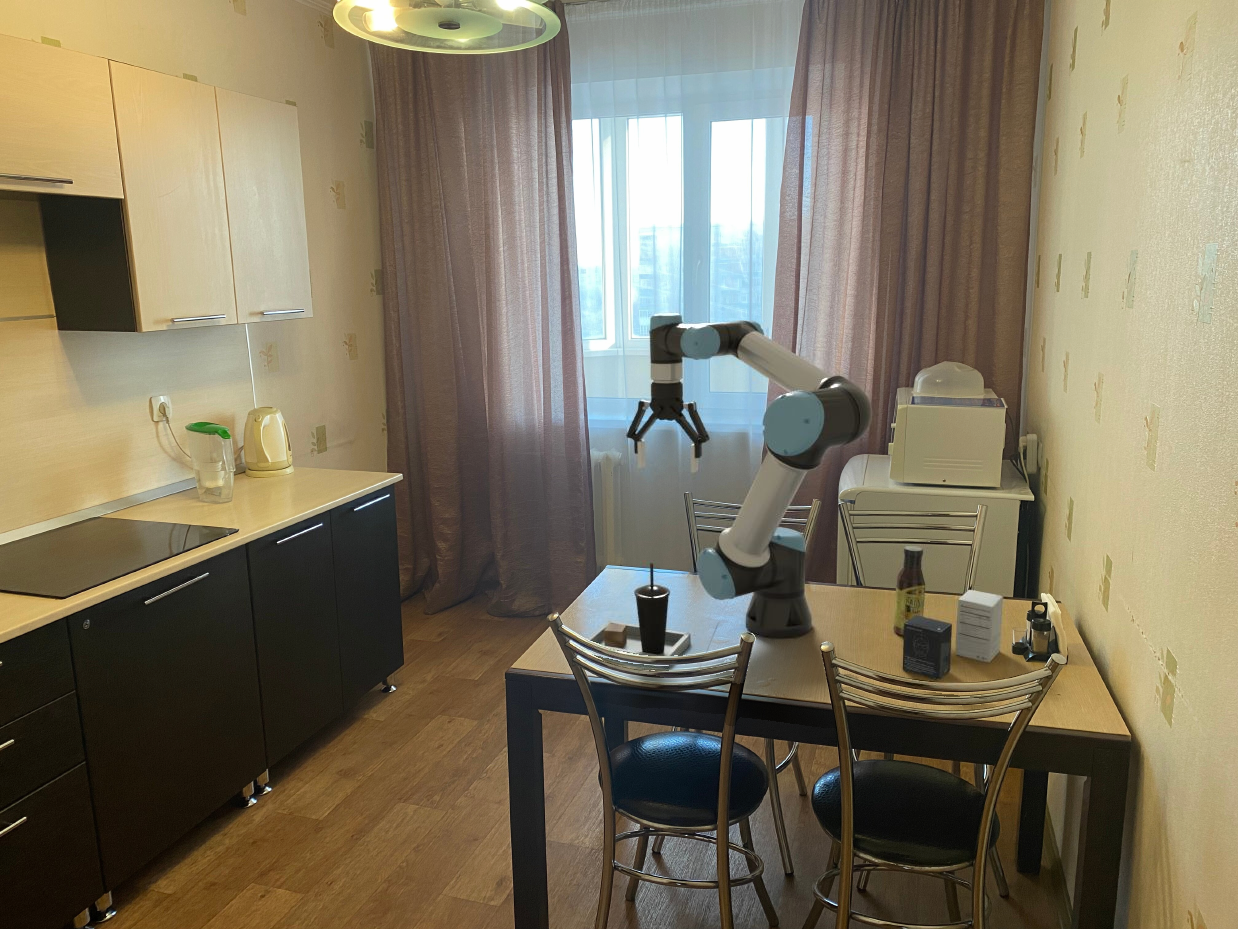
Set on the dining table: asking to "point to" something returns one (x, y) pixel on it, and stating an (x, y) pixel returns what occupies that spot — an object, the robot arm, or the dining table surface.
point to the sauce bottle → (909, 589)
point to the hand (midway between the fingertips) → (667, 469)
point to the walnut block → (615, 635)
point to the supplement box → (979, 625)
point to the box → (927, 647)
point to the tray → (673, 641)
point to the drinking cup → (652, 615)
